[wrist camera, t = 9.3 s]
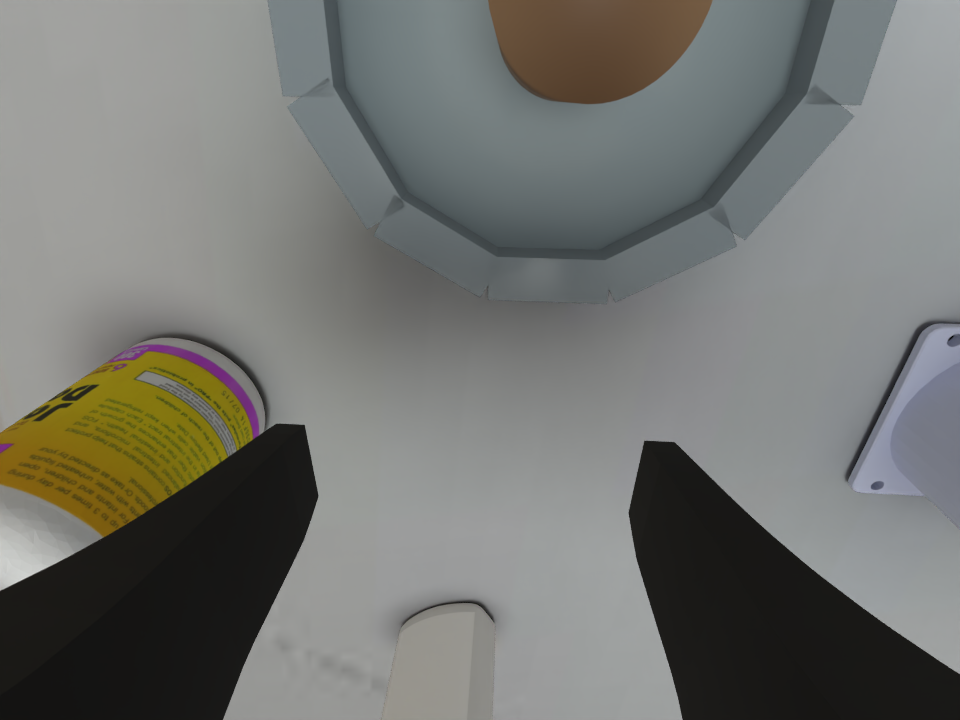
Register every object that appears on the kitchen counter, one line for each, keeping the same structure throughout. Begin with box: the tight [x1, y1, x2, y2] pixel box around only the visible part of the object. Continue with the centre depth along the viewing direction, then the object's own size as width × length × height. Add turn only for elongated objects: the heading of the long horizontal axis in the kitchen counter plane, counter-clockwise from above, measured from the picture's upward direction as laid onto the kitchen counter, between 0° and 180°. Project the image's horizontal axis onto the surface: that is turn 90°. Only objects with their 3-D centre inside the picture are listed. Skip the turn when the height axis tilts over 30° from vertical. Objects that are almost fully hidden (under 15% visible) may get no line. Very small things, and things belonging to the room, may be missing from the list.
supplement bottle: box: [0, 338, 265, 591], centre depth 16 cm, size 7×7×13 cm
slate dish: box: [268, 0, 897, 304], centre depth 13 cm, size 16×16×2 cm
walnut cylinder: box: [488, 0, 713, 104], centre depth 11 cm, size 4×4×6 cm
